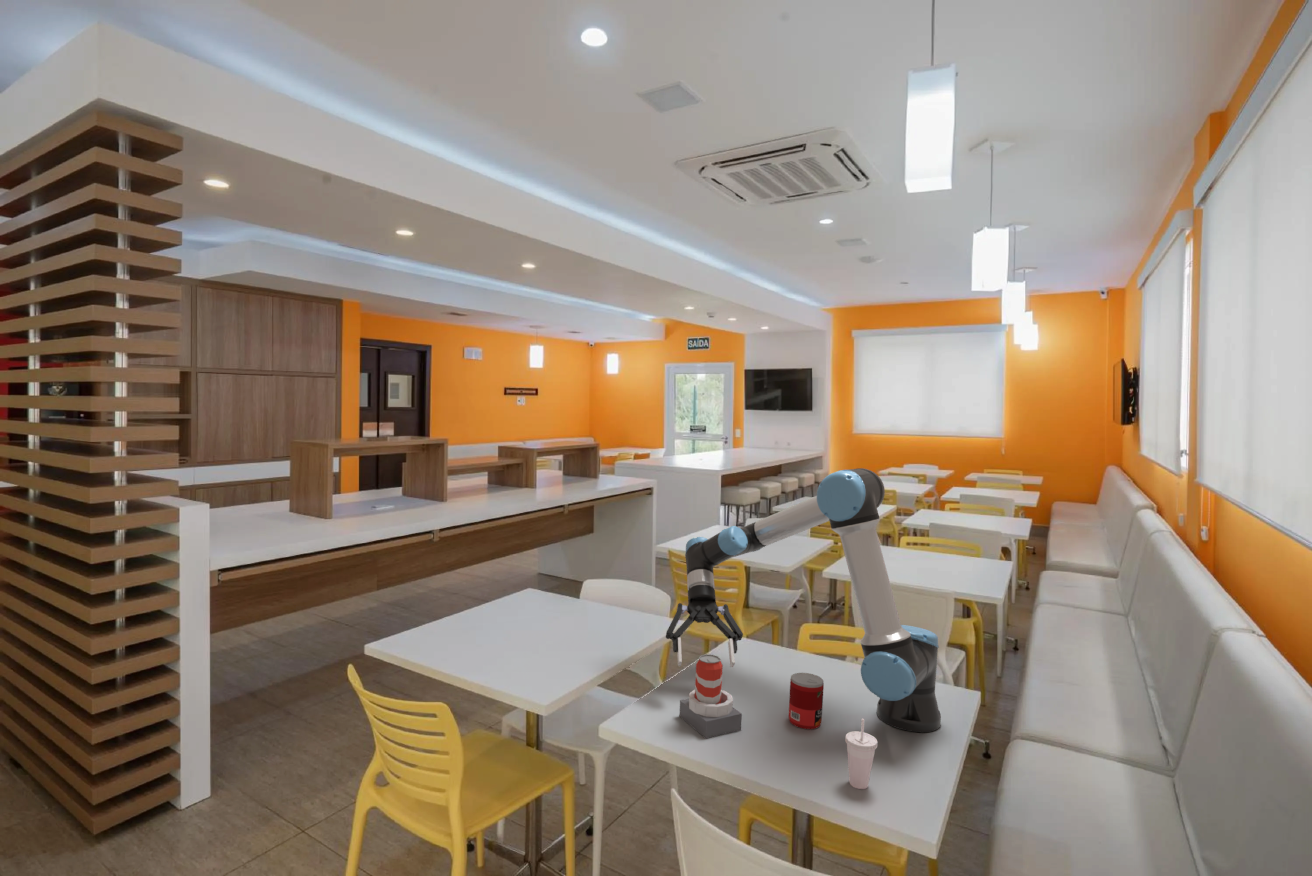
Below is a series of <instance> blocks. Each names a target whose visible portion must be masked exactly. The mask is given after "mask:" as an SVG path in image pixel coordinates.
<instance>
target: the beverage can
mask: <svg viewBox="0 0 1312 876" xmlns="http://www.w3.org/2000/svg"><path fill="white" fill-rule="evenodd" d="M723 666H724V665H723V664H722V661H721V657H719V656H718V655H714V654H702V655H700V656H699V657H698V661H696V664H695V679H694V681H695V682H694V685H695V686H694V690H695V699H697V700H698V701H699V702H703V703H706V704H721V690H722V687H723V686H722V685H723V668H724V667H723Z"/></svg>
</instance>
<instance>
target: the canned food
mask: <svg viewBox="0 0 1312 876" xmlns="http://www.w3.org/2000/svg"><path fill="white" fill-rule="evenodd" d="M824 690H825V689H824V679H823V678H822V677H821V676H819V675H816V674H814V673H809V672H795V673H793V674H791V675H790V682H789V697H788V698H789V703H788V720H789V722H790V724H792V726H794V727H797V728H800V729H804V730H814V729H818V728H820V726H821V724H822V718H823V706H824V705H823V703H824V701H823V700H824Z"/></svg>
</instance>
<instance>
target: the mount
mask: <svg viewBox="0 0 1312 876" xmlns="http://www.w3.org/2000/svg"><path fill="white" fill-rule="evenodd" d="M733 704H734V698H733V695H732V694H731V693H729V692H727V691H726V690H721V704H706V703H703V702H699V701H698V700H697V699H695V689H693V690H692V691H690V692H689V694H688V698H685V699H681V700H679V714H678V715H679V717H680V718H681V719H682V720H683V721H684V722H685V723H687V724H688V725H689V726H690V727H692V728H693V729H694V730H695V731H696V732H697V731H698V732H697V733H698V734H700V735H701V736H702V735H703V736H704V737H703V736H702V737H703V738H705V739H708V738H707V737H710V738H714V737H717V735H718V736H721V735H720V734H722V735H726V734H725V733H727V734H730V732H731V733H734V732H739V731H742V716H743V714H742V712H740V711H739V710H737V709H736V708H735V707H733V706H734V705H733ZM713 736H714V737H713Z"/></svg>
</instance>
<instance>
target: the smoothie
mask: <svg viewBox="0 0 1312 876" xmlns="http://www.w3.org/2000/svg"><path fill="white" fill-rule="evenodd" d="M864 730H865V718H861V723H860V731H857V730H855V731H849V732H847V733H846V734H845V738H844V742H845V743H846V751H847V766H848V767H847V768H848V779H849V780H848V781H849V785H850V786H851V787H853V788H855V789H857V790H858V789H859V790H866V789H868V787H869V782H870V777H871V772H872V768H873V763H874V757H875V753H876V749H877V748H878V740H877V738H876V737H875V736H873V735H871V734H869V733H867V732H865V731H864Z"/></svg>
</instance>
